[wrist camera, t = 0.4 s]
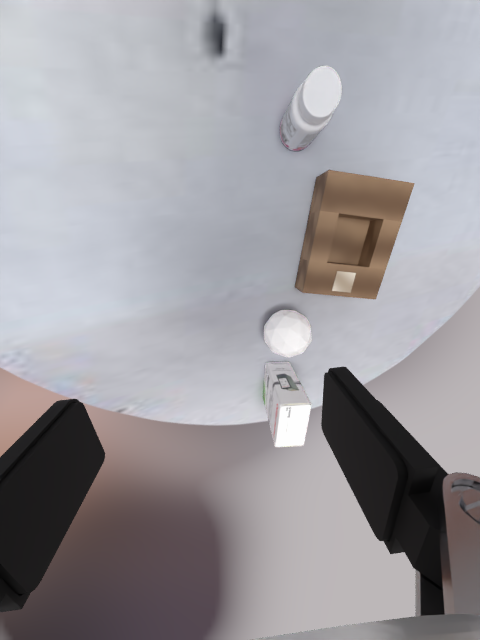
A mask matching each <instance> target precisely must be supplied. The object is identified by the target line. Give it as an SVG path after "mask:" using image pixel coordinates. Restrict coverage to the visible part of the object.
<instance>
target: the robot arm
mask: <svg viewBox="0 0 480 640" xmlns="http://www.w3.org/2000/svg"><path fill="white" fill-rule="evenodd" d="M322 430H323V433H324V435H325V437H326V439H327V441H328V443H329V445H330V447H331V449H332V451H333V453H334V455H335V457H336V459H337V461H338V463H339V465H340V467H341V469H342V471H343V473H344V475H345V477H346V478H347V481H348V483H349V485H350V487H351V489H352V491H353V493H354V495H355V497H356V499H357V501H358V503H359V505H360V507H361V508H362V511H363V513H364V515H365V517H366V519H367V521H368V522H369V524H370V526H371V528H372V530H373V532H374V534H375V536H376V537H377V539H379V541H384V543H385V545H386V546H387V548H388V550H389V552H390V554H394V553H401V552H405V553H406V555H407V557H408V559H409V561H410V562H411V564H412V566H413V568H415V569H416V617H409V618H400V619H392V620H384V621H376V622H368V623H360V624H352V625H344V626H338V627H332V628H325V629H318V630H311V631H305V632H299V633H292V634H286V635H279V636H273V637H266V638H259V639H252V640H480V477H477V476H474V475H471V474H467V473H457V472H456V473H452V474H447V473H446V472H445V470H443V468H442V467H441V466H440V465H439V464H438V463H437V462H436V461H435V460H434V459H433V458H432V457H431V456H430V455H429V453H428V452H427V451H426V450H425V449H424V448H423V447H422V446H421V445H420V444H419V443H418V442H417V441H416V440H415V439H414V437H413V436H412V435H410V433H409V432H408V431H407V430H406V429H405V428H404V427H403V426H402V425H401V424H400V423H399V422H398V420H396V419H395V417H394V416H393V415H392V414H391V413H390V412H389V411H388V410H387V409H386V408H385V407H384V406H383V404H382V403H380V402H379V401H378V400H376V399H375V398H374V397H373V396H372V395H371V394H370V393H369V391H368V390H367V389H366V388H365V387H364V386H363V385H362V384H361V383H360V382H359V381H358V380H357V378H356V377H355V376H354V375H353V374H352V373H351V372H350V371H349V370H348V369H347V368H346V367H337V368H330V369H329V371H328V373H325V375H324V390H323V407H322ZM104 458H105V452H104V449H103V447H102V445H101V443H100V440H99V438H98V436H97V434H96V432H95V429H94V427H93V425H92V422H91V420H90V418H89V416H88V413H87V411H86V409H85V407H84V405H83V403H81V402H79V400H77V399H69V400H60V401H57V402H56V403H54V404H53V405H52V406H51V407H50V408H49V409H48V410H47V411H46V412H45V413H44V414H43V415H42V416H41V417H40V418H39V419H38V420H37V421H36V422H35V423H34V424H33V425H32V426H31V427H30V428H29V429H28V430H27V431H26V432H25V433H24V434H23V435H22V436H21V437H20V438H19V439H18V440H17V441H16V442H15V443H14V444H13V445H12V446H11V447H10V448H9V449H8V450H7V451H6V452H5V453H4V454H3V455H2V456H1V457H0V612H6V611H12V610H19V609H22V608H23V606H24V604H25V602H26V600H27V598H28V597H29V595H30V593H31V592H32V591H33V590H35V588H36V587H37V586H38V585H39V583H40V581H41V580H42V578H43V576H44V574H45V572H46V570H47V568H48V566H49V564H50V563H51V561H52V559H53V557H54V555H55V553H56V551H57V549H58V547H59V545H60V544H61V542H62V540H63V538H64V536H65V534H66V532H67V530H68V528H69V527H70V525H71V523H72V521H73V519H74V517H75V515H76V513H77V511H78V509H79V507H80V506H81V504H82V502H83V500H84V498H85V496H86V494H87V492H88V491H89V488H90V487H91V485H92V483H93V481H94V479H95V477H96V475H97V473H98V472H99V470H100V467H101V466H102V464H103V462H104Z"/></svg>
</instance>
